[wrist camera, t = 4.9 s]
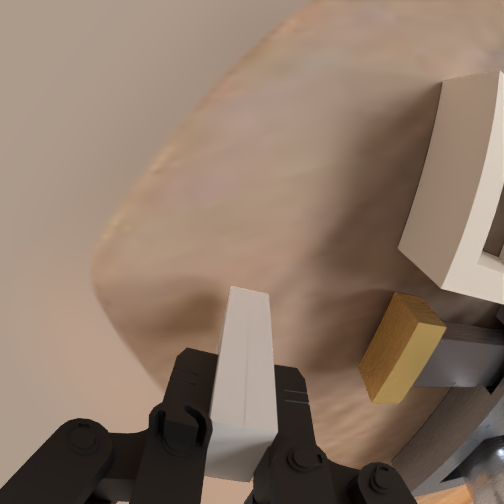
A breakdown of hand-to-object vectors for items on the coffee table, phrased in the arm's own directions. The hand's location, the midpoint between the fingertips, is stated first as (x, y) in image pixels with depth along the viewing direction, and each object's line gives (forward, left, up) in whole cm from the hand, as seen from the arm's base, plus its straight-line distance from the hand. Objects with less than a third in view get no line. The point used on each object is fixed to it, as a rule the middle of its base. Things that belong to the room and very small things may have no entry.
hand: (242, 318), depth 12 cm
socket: (+4, +20, -2) cm, 21 cm away
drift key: (0, +13, -1) cm, 13 cm away
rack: (-8, +10, -2) cm, 13 cm away
